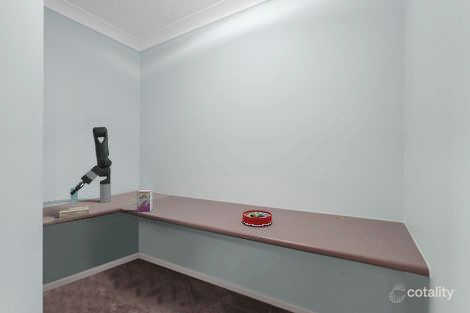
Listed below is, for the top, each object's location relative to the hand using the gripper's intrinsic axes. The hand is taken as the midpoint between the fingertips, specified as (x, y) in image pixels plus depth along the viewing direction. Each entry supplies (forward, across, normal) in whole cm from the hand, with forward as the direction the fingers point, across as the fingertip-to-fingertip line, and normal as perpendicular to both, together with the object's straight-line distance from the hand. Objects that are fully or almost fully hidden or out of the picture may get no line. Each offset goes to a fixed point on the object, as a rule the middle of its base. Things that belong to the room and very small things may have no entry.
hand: (71, 193), depth 176 cm
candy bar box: (-23, +20, +46) cm, 55 cm away
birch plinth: (+10, 0, +13) cm, 16 cm away
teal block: (+3, 0, +5) cm, 6 cm away
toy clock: (-61, +96, +86) cm, 143 cm away
